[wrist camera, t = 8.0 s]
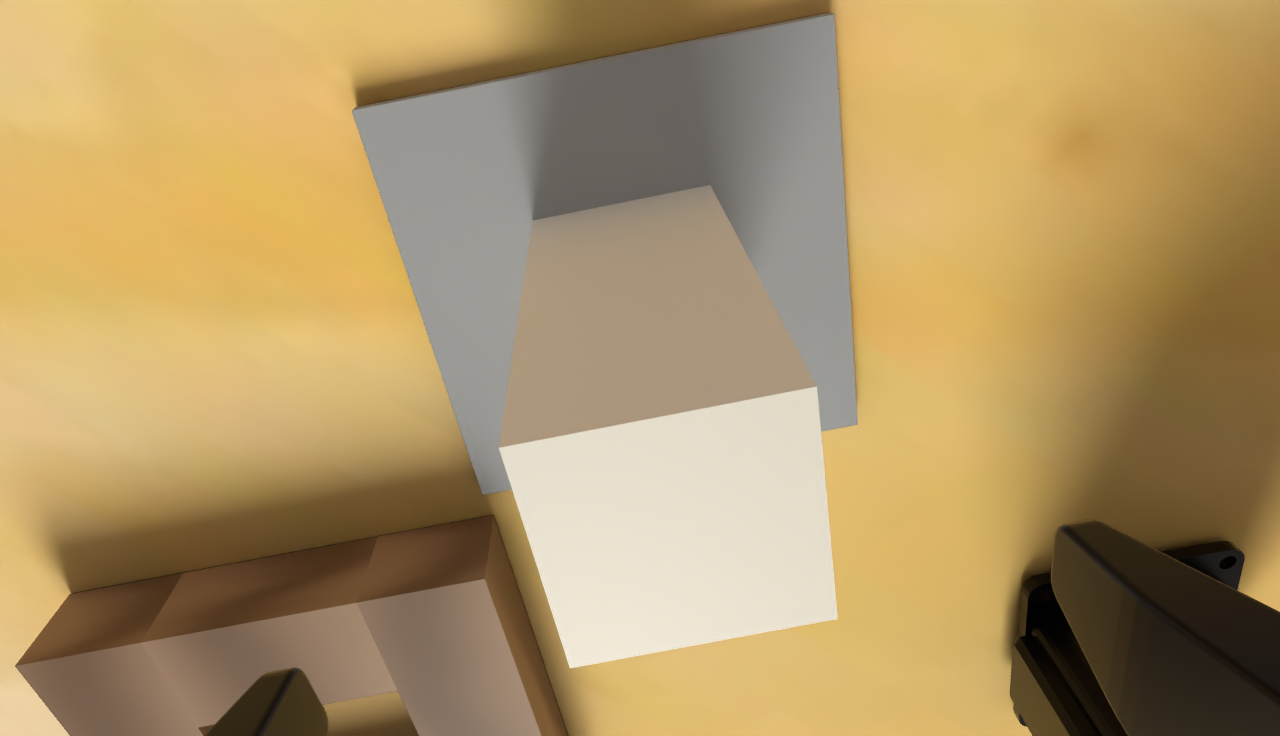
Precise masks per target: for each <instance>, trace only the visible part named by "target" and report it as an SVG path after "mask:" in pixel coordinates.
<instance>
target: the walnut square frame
mask: <svg viewBox="0 0 1280 736" xmlns="http://www.w3.org/2000/svg"><path fill="white" fill-rule="evenodd" d="M15 667H16V668H17V669H18V670H19V672H20V673H21V674H22V675H23V677H24V678H25V679H26V681H27V682H28V683H29V684H30V686H31V687H32V688H33V689H34V691H35V692H36V693H37V694H38V696H39V697H40V698H41V699H42V701H43V702H44V703H45V705H46V706H47V707H48V708H49V710H50V711H51V712H52V713H53V715H54V716H55V717H56V718H57V720H58V721H59V722H60V724H61V725H62V726H63V727H64V729H65V730H66V731H67V732H68V734H69V735H70V736H204V735H205V734H206V733H207V732H208V731H209V730H210V729H211V728H212V727H213V725H214V724H215V723H216V722H217V721H218V720H219V719H220V718H221V717H222V716H223V715H224V714H225V713H226V712H227V711H228V710H229V709H230V708H231V706H232V705H233V704H234V703H235V702H236V701H237V700H238V699H239V698H240V697H241V696H242V695H243V694H244V693H245V692H246V691H247V690H248V689H249V687H250V686H251V685H252V684H253V683H254V682H255V681H256V680H257V679H258V678H259V677H260V676H262V675H263V674H265V673H268V672H272V671H277V670H282V669H288V668H293V667H294V668H299V669H301V670H302V671H303V672H304V673H305V675H306V676H307V678H308V680H309V682H310V683H311V685H312V687H313V689H314V691H315V693H316V694H317V696H318V698H319V700H320V702H321V703H322V705H324V704H330V703H335V702H341V701H346V700H352V699H357V698H362V697H368V696H373V695H379V694H384V693H390V692H395V691H398V692H399V694H400V696H401V699H402V701H403V703H404V705H405V707H406V709H407V711H408V713H409V715H410V718H411V720H412V722H413V724H414V726H415V728H416V730H417V732H418V734H419V736H568V734H567V731H566V728H565V725H564V722H563V719H562V716H561V713H560V710H559V707H558V704H557V701H556V698H555V695H554V693H553V690H552V687H551V684H550V681H549V678H548V675H547V672H546V669H545V666H544V663H543V660H542V657H541V654H540V651H539V648H538V645H537V642H536V639H535V636H534V633H533V630H532V627H531V624H530V621H529V618H528V615H527V612H526V609H525V606H524V603H523V600H522V598H521V595H520V592H519V589H518V586H517V583H516V580H515V577H514V574H513V571H512V568H511V565H510V562H509V559H508V556H507V553H506V550H505V547H504V544H503V541H502V538H501V535H500V532H499V529H498V526H497V523H496V520H495V517H494V515H491V516H485V517H480V518H475V519H469V520H464V521H459V522H453V523H448V524H443V525H437V526H432V527H427V528H421V529H416V530H411V531H405V532H400V533H395V534H389V535H384V536H379V537H373V538H368V539H363V540H357V541H352V542H347V543H341V544H336V545H330V546H325V547H320V548H314V549H309V550H304V551H298V552H293V553H288V554H282V555H277V556H272V557H266V558H261V559H256V560H250V561H245V562H240V563H234V564H229V565H224V566H218V567H213V568H208V569H202V570H197V571H192V572H186V573H181V574H176V575H170V576H165V577H159V578H154V579H149V580H143V581H138V582H133V583H127V584H122V585H117V586H111V587H106V588H101V589H95V590H90V591H85V592H79V593H74V594H70V595H69V596H68V597H67V599H66V600H65V601H64V603H63V604H62V605H61V606H60V608H59V609H58V610H57V612H56V613H55V614H54V616H53V617H52V618H51V620H50V621H49V622H48V624H47V625H46V626H45V627H44V629H43V630H42V631H41V633H40V634H39V635H38V637H37V638H36V639H35V641H34V642H33V643H32V645H31V646H30V647H29V648H28V650H27V651H26V652H25V654H24V655H23V656H22V658H21V659H20V660H19V662H18V663H17V664H16V666H15Z"/></svg>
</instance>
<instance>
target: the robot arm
mask: <svg viewBox="0 0 1280 736" xmlns="http://www.w3.org/2000/svg"><path fill="white" fill-rule="evenodd" d="M1243 564H1244V554H1243V553H1242V551H1240V550H1239V549H1238V548H1237V547H1236V546H1235V545H1234V544H1233V543H1232V542H1229V541H1219V542H1214V543H1208V544H1203V545H1197V546H1192V547H1186V548H1181V549H1175V550H1170V551H1164V552H1160V551H1158V550H1156V549H1154V548H1152V547H1150V546H1148V545H1146V544H1144V543H1142V542H1140V541H1138V540H1136V539H1134V538H1132V537H1130V536H1128V535H1126V534H1124V533H1122V532H1120V531H1118V530H1116V529H1114V528H1112V527H1110V526H1108V525H1106V524H1104V523H1102V522H1100V521H1097V520H1084V521H1078V522H1073V523H1067V524H1063V525H1061V526H1059V527H1058V528H1057V530H1056V532H1055V538H1054V548H1053V559H1052V570H1051V572H1049V573H1044V574H1039V575H1035V576H1032V577H1031V578H1029V579H1028V580H1026V582H1025V583H1024V584H1023V586H1022V589H1021V602H1020V617H1019V632H1018V637H1017V638H1016V640H1015V642H1014V644H1013V652H1012V668H1011V684H1010V697H1011V699H1012V700H1013V702H1014V707H1013V710H1014V713H1015V715H1016V717H1017V719H1018V720H1019V722H1020V723H1021V724H1022V725H1023V726H1027V727H1028V729H1029V730H1030V732H1031V734H1032V736H1280V612H1279V611H1277V610H1275V609H1273V608H1271V607H1269V606H1267V605H1265V604H1263V603H1261V602H1259V601H1257V600H1255V599H1253V598H1251V597H1249V596H1247V595H1245V594H1243V593H1241V592H1239V591H1237V589H1238V585H1239V580H1240V576H1241V572H1242V568H1243ZM1040 591H1041V592H1040ZM204 736H328V719H327V715H326V711H325V709H324V707H323V705H322V703H321V702H320V700H319V698H318V696H317V694H316V693H315V691H314V689H313V687H312V685H311V683H310V682H309V680H308V678H307V676H306V675H305V673H304V672H303V671H302V670H301V669H299V668H294V667H293V668H288V669H282V670H277V671H272V672H268V673H265V674H263V675H262V676H260V677H259V678H258V679H257V680H256V681H255V682H254V683H253V684H252V685H251V686H250V687H249V689H248V690H247V691H246V692H245V693H244V694H243V695H242V696H241V697H240V698H239V699H238V700H237V701H236V702H235V703H234V704H233V705H232V706H231V708H230V709H229V710H228V711H227V712H226V713H225V714H224V715H223V716H222V717H221V718H220V719H219V720H218V721H217V722H216V723H215V724H214V725H213V727H212V728H211V729H210V730H209V731H208V732H207V733H206V734H205V735H204Z"/></svg>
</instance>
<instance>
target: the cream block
mask: <svg viewBox="0 0 1280 736" xmlns="http://www.w3.org/2000/svg"><path fill="white" fill-rule="evenodd" d="M499 450H500V453H501V457H502V460H503V463H504V466H505V469H506V472H507V475H508V478H509V481H510V484H511V488H512V491H513V494H514V497H515V500H516V503H517V506H518V509H519V512H520V515H521V519H522V522H523V525H524V528H525V531H526V534H527V537H528V540H529V543H530V546H531V550H532V553H533V556H534V559H535V562H536V565H537V568H538V571H539V574H540V577H541V581H542V584H543V587H544V590H545V593H546V596H547V599H548V602H549V605H550V608H551V612H552V615H553V618H554V621H555V624H556V627H557V630H558V633H559V636H560V639H561V643H562V646H563V649H564V652H565V655H566V658H567V661H568V664H569V667H570V668H575V667H581V666H586V665H591V664H597V663H602V662H608V661H613V660H618V659H624V658H629V657H634V656H640V655H645V654H651V653H656V652H661V651H667V650H672V649H678V648H683V647H688V646H694V645H699V644H705V643H710V642H715V641H721V640H726V639H731V638H737V637H742V636H748V635H753V634H758V633H764V632H769V631H775V630H780V629H785V628H791V627H796V626H801V625H807V624H812V623H818V622H823V621H828V620H834V619H838V617H837V606H836V595H835V583H834V572H833V561H832V550H831V538H830V527H829V516H828V505H827V493H826V482H825V471H824V460H823V448H822V437H821V426H820V414H819V403H818V392H817V386H816V384H815V382H814V380H813V378H812V376H811V374H810V372H809V370H808V369H807V367H806V365H805V363H804V361H803V359H802V357H801V355H800V353H799V352H798V350H797V348H796V346H795V344H794V342H793V340H792V338H791V336H790V335H789V333H788V331H787V329H786V327H785V325H784V323H783V321H782V319H781V318H780V316H779V314H778V312H777V310H776V308H775V306H774V304H773V303H772V301H771V299H770V297H769V295H768V293H767V291H766V289H765V287H764V286H763V284H762V282H761V280H760V278H759V276H758V274H757V272H756V270H755V269H754V267H753V265H752V263H751V261H750V259H749V257H748V255H747V253H746V252H745V250H744V248H743V246H742V244H741V242H740V240H739V238H738V236H737V235H736V233H735V231H734V229H733V227H732V225H731V223H730V221H729V220H728V218H727V216H726V214H725V212H724V210H723V208H722V206H721V204H720V203H719V201H718V199H717V197H716V195H715V193H714V191H713V189H712V187H711V186H710V185H708V186H703V187H698V188H693V189H688V190H683V191H678V192H673V193H668V194H663V195H658V196H653V197H648V198H643V199H638V200H633V201H628V202H623V203H618V204H613V205H607V206H602V207H597V208H592V209H587V210H582V211H577V212H572V213H567V214H562V215H557V216H552V217H547V218H542V219H537V220H532V227H531V233H530V240H529V247H528V254H527V260H526V267H525V274H524V281H523V287H522V294H521V301H520V308H519V314H518V321H517V328H516V335H515V341H514V348H513V355H512V362H511V368H510V375H509V382H508V389H507V395H506V402H505V409H504V416H503V422H502V429H501V436H500V443H499Z"/></svg>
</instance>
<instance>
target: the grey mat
mask: <svg viewBox="0 0 1280 736" xmlns="http://www.w3.org/2000/svg"><path fill="white" fill-rule="evenodd" d="M352 113H353V116H354V119H355V122H356V125H357V128H358V131H359V134H360V137H361V140H362V143H363V146H364V149H365V151H366V154H367V157H368V160H369V163H370V166H371V169H372V172H373V175H374V178H375V181H376V184H377V187H378V190H379V193H380V196H381V199H382V201H383V204H384V207H385V210H386V213H387V216H388V219H389V222H390V225H391V228H392V231H393V234H394V237H395V240H396V243H397V246H398V248H399V251H400V254H401V257H402V260H403V263H404V266H405V269H406V272H407V275H408V278H409V281H410V284H411V287H412V290H413V293H414V295H415V298H416V301H417V304H418V307H419V310H420V313H421V316H422V319H423V322H424V325H425V328H426V331H427V334H428V337H429V340H430V343H431V345H432V348H433V351H434V354H435V357H436V360H437V363H438V366H439V369H440V372H441V375H442V378H443V381H444V384H445V387H446V390H447V392H448V395H449V398H450V401H451V404H452V407H453V410H454V413H455V416H456V419H457V422H458V425H459V428H460V431H461V434H462V437H463V439H464V442H465V445H466V448H467V451H468V454H469V457H470V460H471V463H472V466H473V469H474V472H475V475H476V478H477V481H478V484H479V487H480V489H481V492H482V495H486V494H491V493H496V492H502V491H507V490H512V488H511V484H510V481H509V478H508V475H507V472H506V469H505V466H504V463H503V460H502V457H501V453H500V450H499V443H500V436H501V429H502V422H503V416H504V409H505V402H506V395H507V389H508V382H509V375H510V368H511V362H512V355H513V348H514V341H515V335H516V328H517V321H518V314H519V308H520V301H521V294H522V287H523V281H524V274H525V267H526V260H527V254H528V247H529V240H530V233H531V227H532V220H537V219H542V218H547V217H552V216H557V215H562V214H567V213H572V212H577V211H582V210H587V209H592V208H597V207H602V206H607V205H613V204H618V203H623V202H628V201H633V200H638V199H643V198H648V197H653V196H658V195H663V194H668V193H673V192H678V191H683V190H688V189H693V188H698V187H703V186H708V185H710V186H711V187H712V189H713V191H714V193H715V195H716V197H717V199H718V201H719V203H720V204H721V206H722V208H723V210H724V212H725V214H726V216H727V218H728V220H729V221H730V223H731V225H732V227H733V229H734V231H735V233H736V235H737V236H738V238H739V240H740V242H741V244H742V246H743V248H744V250H745V252H746V253H747V255H748V257H749V259H750V261H751V263H752V265H753V267H754V269H755V270H756V272H757V274H758V276H759V278H760V280H761V282H762V284H763V286H764V287H765V289H766V291H767V293H768V295H769V297H770V299H771V301H772V303H773V304H774V306H775V308H776V310H777V312H778V314H779V316H780V318H781V319H782V321H783V323H784V325H785V327H786V329H787V331H788V333H789V335H790V336H791V338H792V340H793V342H794V344H795V346H796V348H797V350H798V352H799V353H800V355H801V357H802V359H803V361H804V363H805V365H806V367H807V369H808V370H809V372H810V374H811V376H812V378H813V380H814V382H815V384H816V386H817V392H818V403H819V414H820V426H821V431H827V430H832V429H837V428H843V427H848V426H853V425H858V421H857V404H856V386H855V369H854V351H853V334H852V316H851V298H850V281H849V263H848V246H847V228H846V211H845V193H844V176H843V158H842V141H841V123H840V106H839V88H838V71H837V53H836V35H835V18H834V14H831V13H825V14H820V15H815V16H810V17H805V18H800V19H795V20H790V21H785V22H780V23H775V24H770V25H765V26H760V27H755V28H750V29H745V30H740V31H735V32H730V33H725V34H720V35H715V36H710V37H704V38H699V39H694V40H689V41H684V42H679V43H674V44H669V45H664V46H659V47H654V48H649V49H644V50H639V51H634V52H629V53H624V54H619V55H614V56H609V57H604V58H599V59H594V60H589V61H584V62H579V63H574V64H569V65H564V66H559V67H554V68H549V69H544V70H539V71H534V72H529V73H524V74H519V75H514V76H509V77H504V78H499V79H494V80H489V81H484V82H479V83H474V84H469V85H464V86H459V87H454V88H449V89H444V90H439V91H434V92H429V93H424V94H419V95H414V96H409V97H404V98H399V99H394V100H389V101H384V102H379V103H374V104H369V105H364V106H359V107H356V108H354V109H353V110H352Z"/></svg>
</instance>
